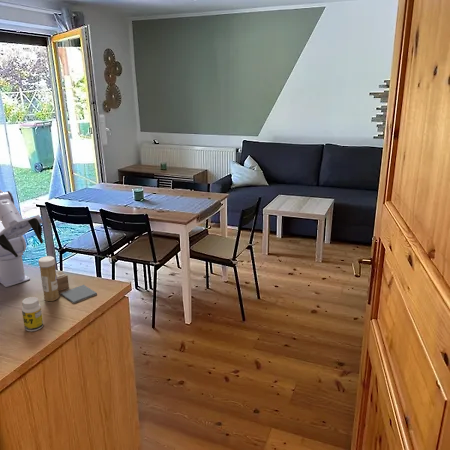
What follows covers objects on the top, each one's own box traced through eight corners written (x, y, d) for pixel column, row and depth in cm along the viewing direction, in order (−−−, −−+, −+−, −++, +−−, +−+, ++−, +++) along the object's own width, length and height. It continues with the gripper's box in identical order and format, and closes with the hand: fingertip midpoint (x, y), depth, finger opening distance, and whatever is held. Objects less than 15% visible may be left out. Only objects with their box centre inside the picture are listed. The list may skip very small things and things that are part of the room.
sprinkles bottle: (61, 299, 131) (56, 259, 127) (45, 303, 129) (39, 262, 124) (57, 293, 135) (52, 254, 130) (42, 297, 132) (36, 257, 128)
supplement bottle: (20, 329, 115) (16, 302, 112) (33, 321, 119) (29, 294, 117) (34, 333, 114) (30, 306, 111) (47, 324, 118) (43, 297, 115)
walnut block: (49, 287, 138) (47, 274, 137) (62, 283, 142) (60, 270, 140) (55, 292, 136) (54, 279, 134) (69, 287, 139) (67, 274, 137)
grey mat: (60, 294, 134) (60, 293, 134) (83, 286, 140) (83, 284, 139) (73, 303, 129) (73, 301, 129) (96, 294, 134) (96, 292, 134)
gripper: (-19, 223, 123) (-3, 253, 117) (29, 199, 129) (47, 227, 122) (-8, 237, 129) (8, 266, 122) (37, 214, 134) (55, 241, 127)
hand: (28, 248), depth 122 cm, fingers open, 7 cm apart
